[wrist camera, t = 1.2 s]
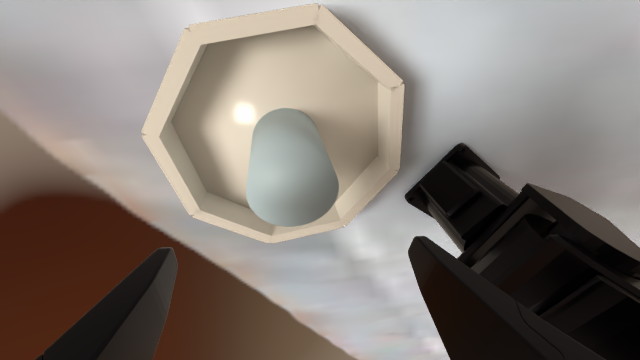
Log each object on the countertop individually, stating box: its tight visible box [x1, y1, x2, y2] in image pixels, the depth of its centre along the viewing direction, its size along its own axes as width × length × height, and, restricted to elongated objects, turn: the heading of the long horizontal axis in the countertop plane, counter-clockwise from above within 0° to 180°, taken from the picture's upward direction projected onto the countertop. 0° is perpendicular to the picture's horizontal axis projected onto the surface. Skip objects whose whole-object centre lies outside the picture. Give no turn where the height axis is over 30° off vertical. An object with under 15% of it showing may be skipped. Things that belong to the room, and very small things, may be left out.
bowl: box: [141, 3, 405, 244], centre depth 16 cm, size 15×15×2 cm
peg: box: [246, 108, 339, 227], centre depth 15 cm, size 4×4×6 cm
